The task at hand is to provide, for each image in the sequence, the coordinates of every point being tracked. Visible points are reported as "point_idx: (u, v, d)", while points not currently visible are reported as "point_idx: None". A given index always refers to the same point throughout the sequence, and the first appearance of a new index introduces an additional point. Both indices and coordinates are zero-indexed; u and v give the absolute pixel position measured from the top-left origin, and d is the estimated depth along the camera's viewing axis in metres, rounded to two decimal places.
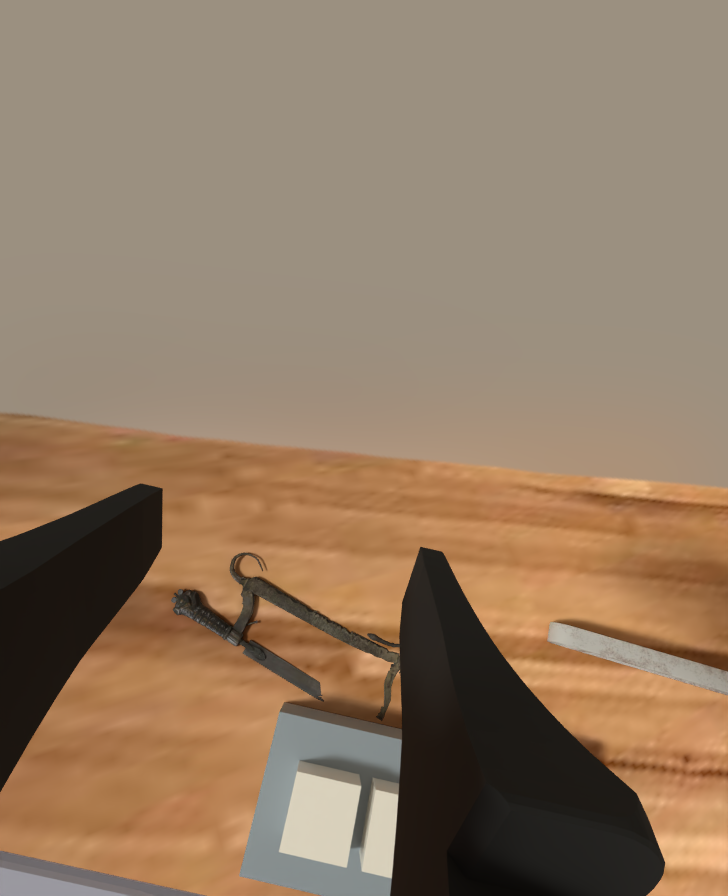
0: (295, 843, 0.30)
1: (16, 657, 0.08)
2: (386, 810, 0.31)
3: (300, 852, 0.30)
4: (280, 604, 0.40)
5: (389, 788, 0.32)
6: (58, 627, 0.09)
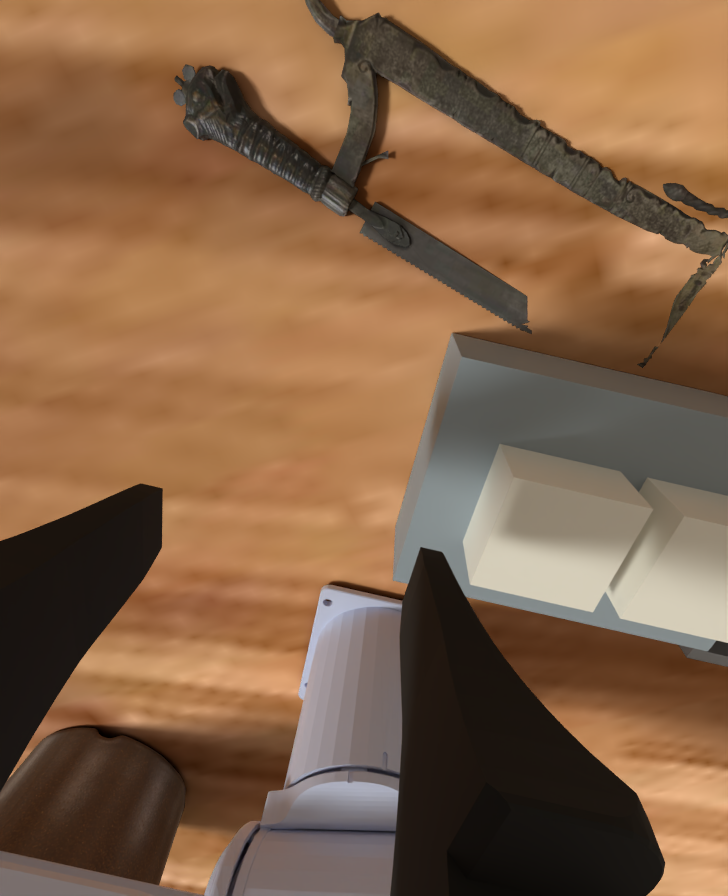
0: (501, 577, 0.16)
1: (16, 657, 0.08)
2: (697, 547, 0.15)
3: (510, 588, 0.16)
4: (446, 102, 0.15)
5: (701, 508, 0.15)
6: (58, 627, 0.09)
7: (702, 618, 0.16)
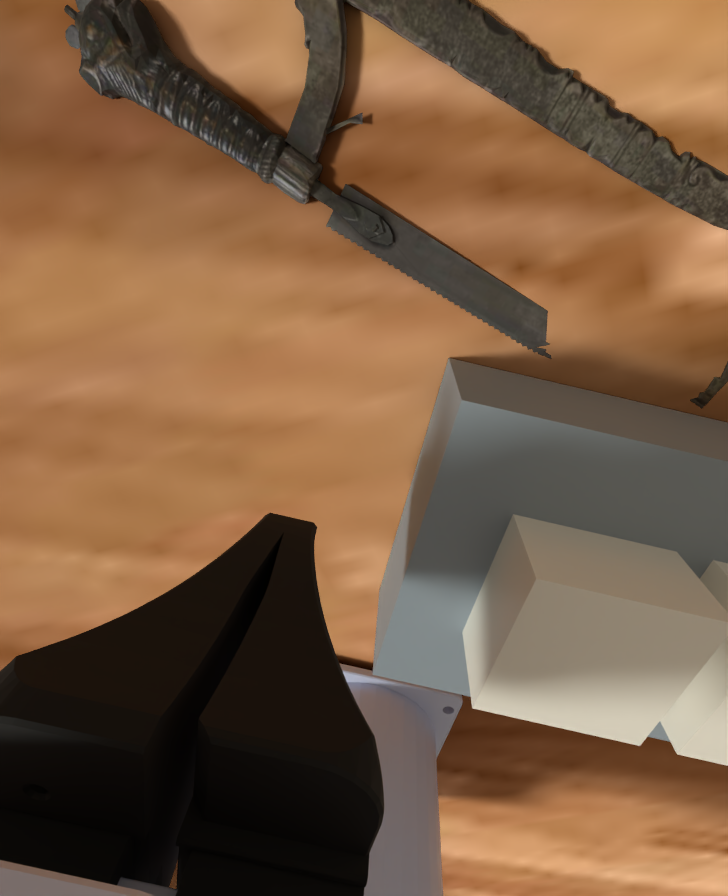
0: (515, 700, 0.12)
1: None
2: None
3: (527, 714, 0.12)
4: (442, 42, 0.11)
5: None
6: None
7: None
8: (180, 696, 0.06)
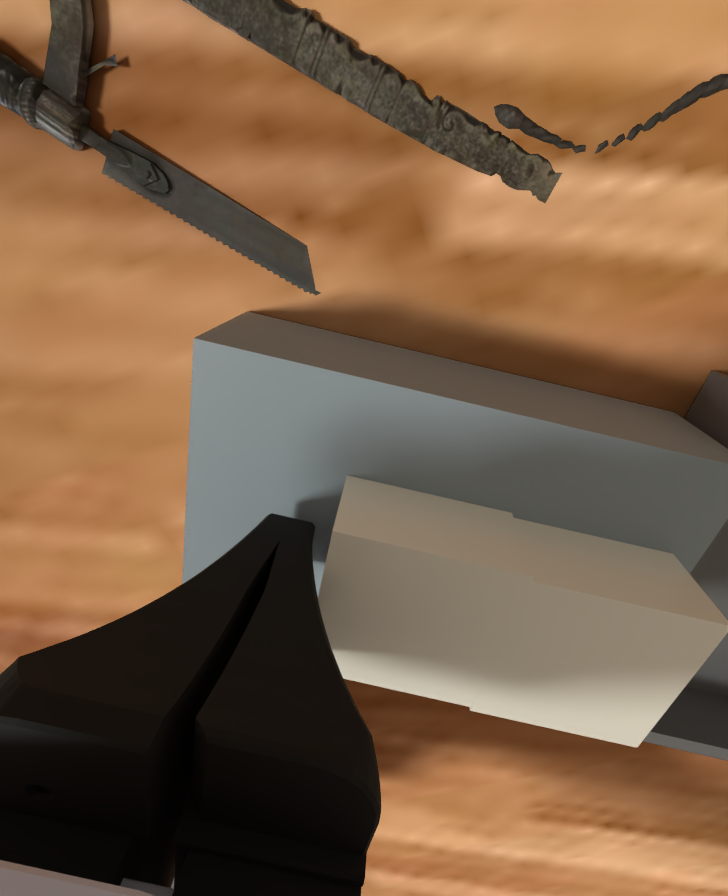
0: (341, 660, 0.12)
1: None
2: (558, 623, 0.10)
3: (356, 675, 0.12)
4: None
5: (567, 565, 0.11)
6: None
7: (578, 713, 0.12)
8: (183, 697, 0.06)
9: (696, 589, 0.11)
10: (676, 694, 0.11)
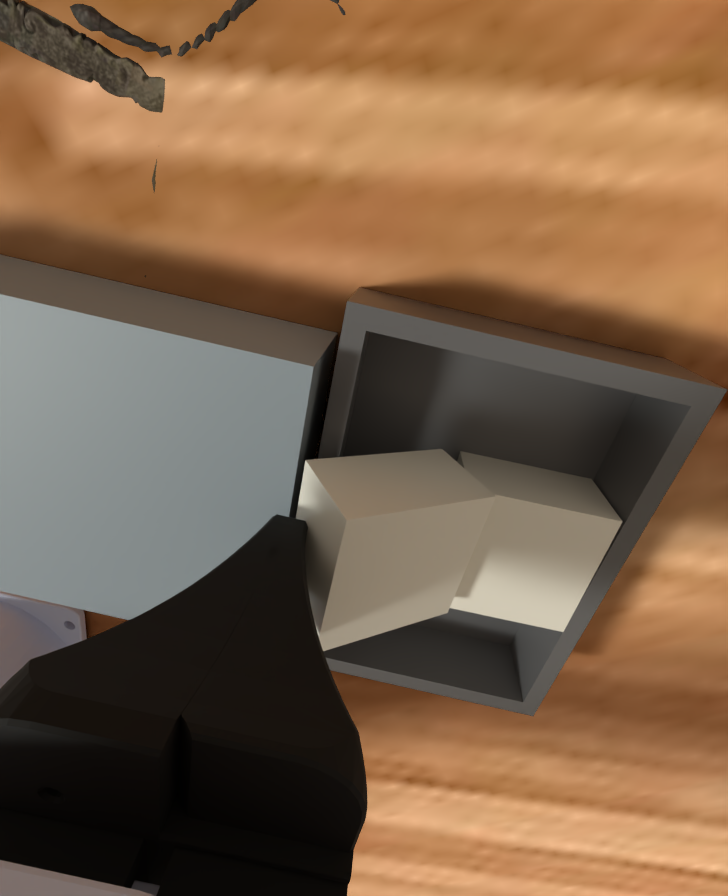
0: (350, 628, 0.12)
1: None
2: None
3: (362, 634, 0.13)
4: None
5: (568, 485, 0.15)
6: None
7: None
8: None
9: (469, 467, 0.14)
10: None
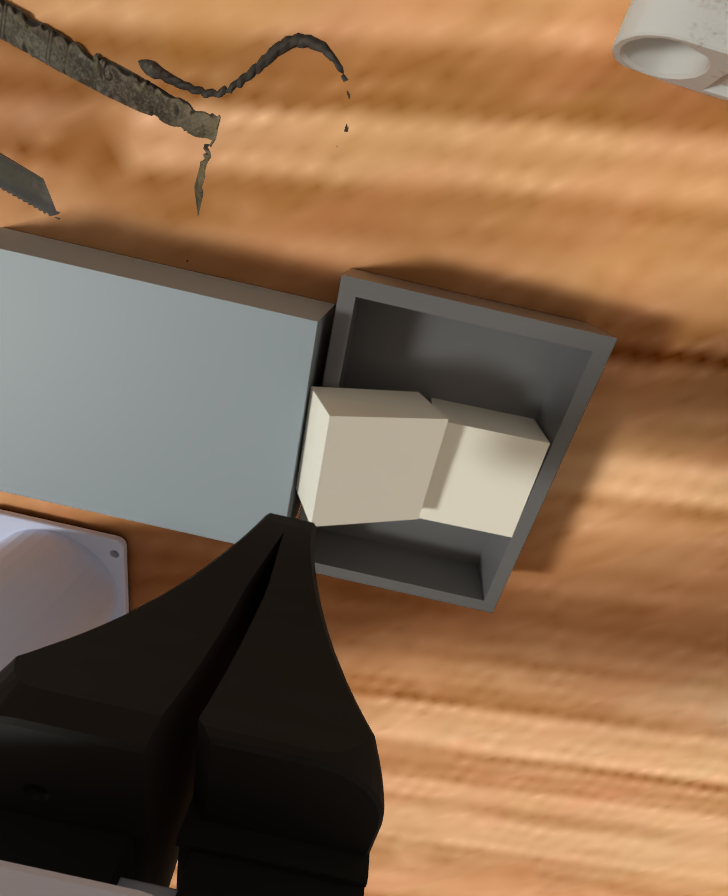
0: (337, 511, 0.17)
1: None
2: None
3: (347, 519, 0.17)
4: None
5: (513, 421, 0.19)
6: None
7: None
8: (180, 696, 0.06)
9: (436, 407, 0.19)
10: None
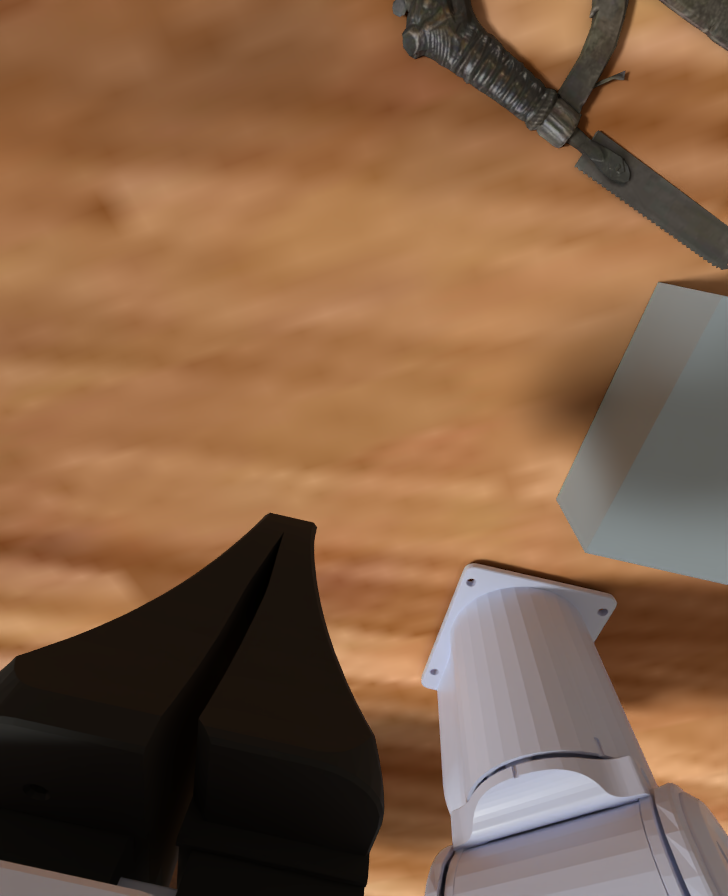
0: None
1: None
2: None
3: None
4: (705, 13, 0.14)
5: None
6: None
7: None
8: (180, 696, 0.06)
9: None
10: None
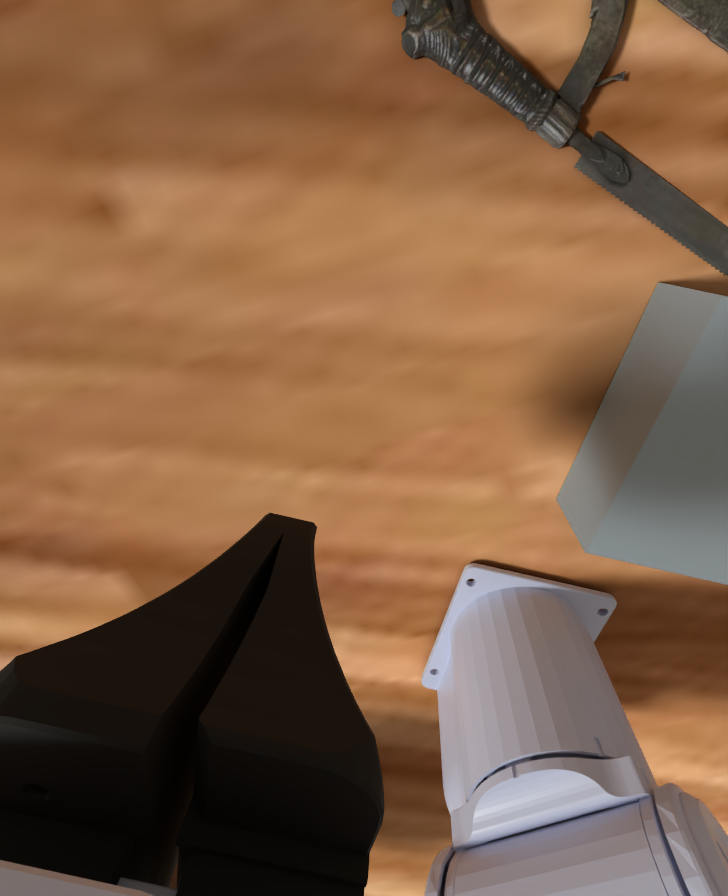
0: None
1: None
2: None
3: None
4: (705, 13, 0.14)
5: None
6: None
7: None
8: (180, 696, 0.06)
9: None
10: None
